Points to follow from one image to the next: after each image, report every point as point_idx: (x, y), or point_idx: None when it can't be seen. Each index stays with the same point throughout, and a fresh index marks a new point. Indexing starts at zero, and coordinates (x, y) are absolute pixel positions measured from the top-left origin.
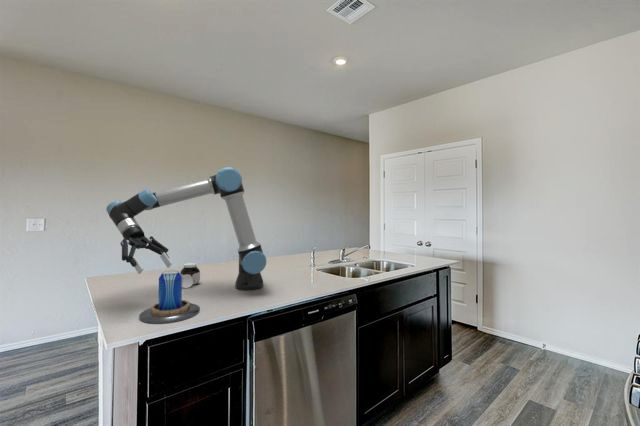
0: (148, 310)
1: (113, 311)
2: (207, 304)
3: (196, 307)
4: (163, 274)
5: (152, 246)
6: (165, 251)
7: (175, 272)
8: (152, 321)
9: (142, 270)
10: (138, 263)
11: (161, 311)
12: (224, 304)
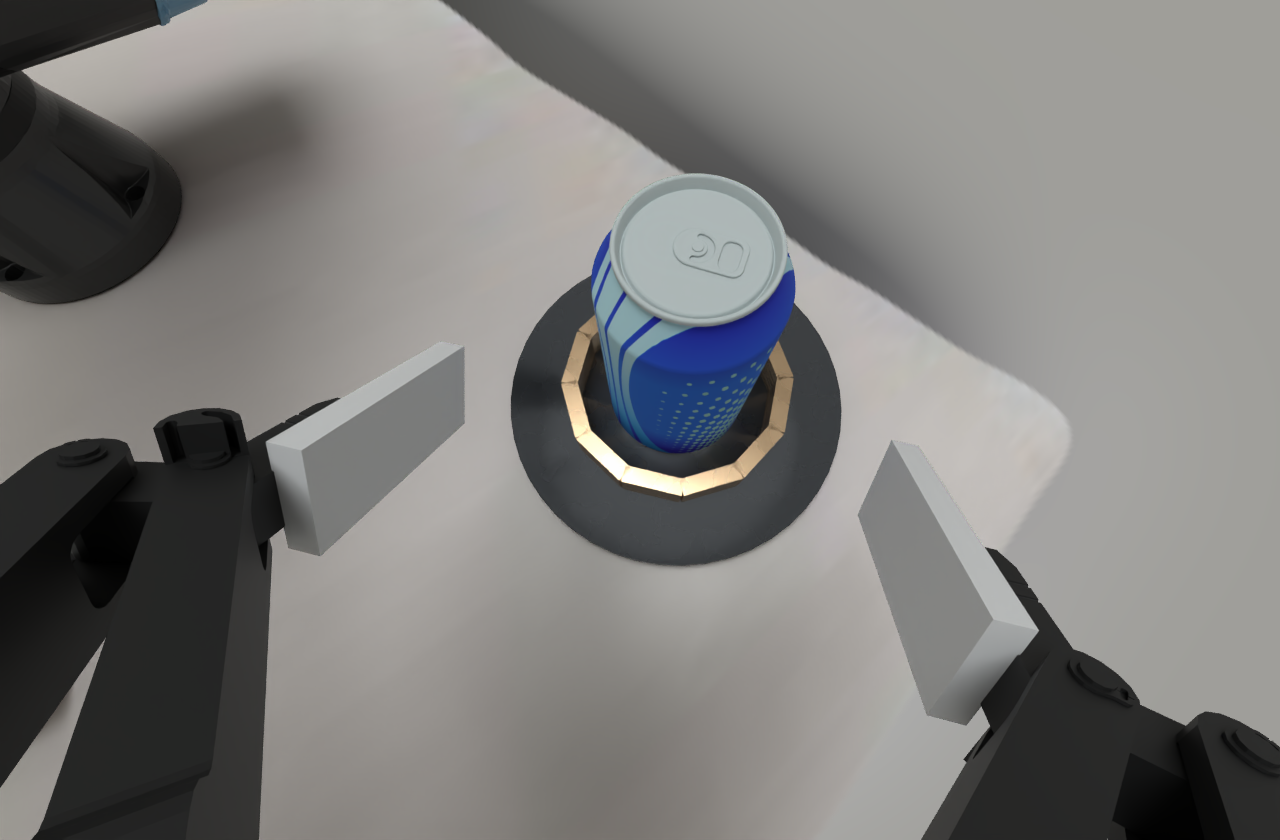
0: (692, 537)
1: (715, 830)
2: (489, 292)
3: (589, 294)
4: (782, 270)
5: (224, 713)
6: (241, 425)
7: (674, 212)
8: (838, 391)
9: (886, 463)
10: (955, 507)
11: (787, 366)
12: (481, 210)
